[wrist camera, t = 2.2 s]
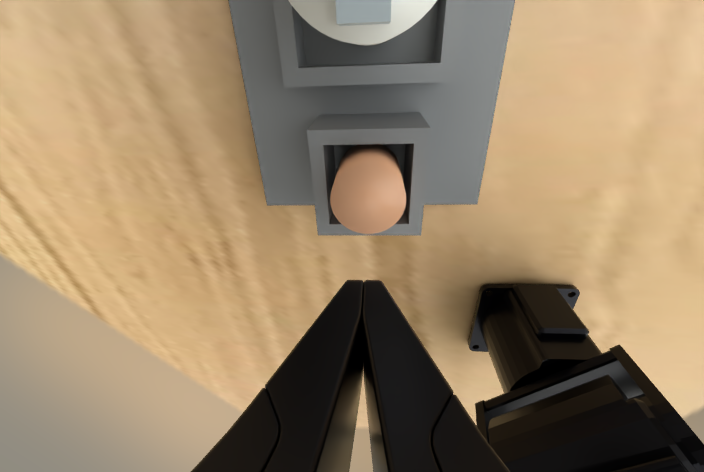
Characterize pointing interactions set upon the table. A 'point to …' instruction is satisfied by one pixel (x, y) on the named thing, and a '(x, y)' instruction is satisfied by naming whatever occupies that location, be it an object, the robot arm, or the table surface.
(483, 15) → the housing
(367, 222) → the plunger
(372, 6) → the cartridge
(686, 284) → the table surface
